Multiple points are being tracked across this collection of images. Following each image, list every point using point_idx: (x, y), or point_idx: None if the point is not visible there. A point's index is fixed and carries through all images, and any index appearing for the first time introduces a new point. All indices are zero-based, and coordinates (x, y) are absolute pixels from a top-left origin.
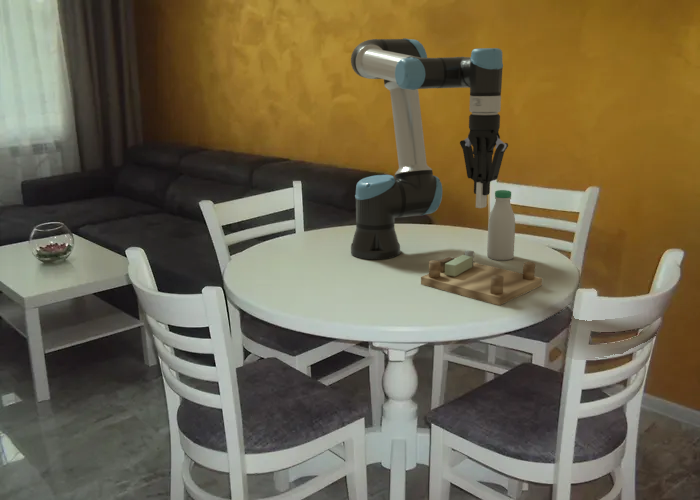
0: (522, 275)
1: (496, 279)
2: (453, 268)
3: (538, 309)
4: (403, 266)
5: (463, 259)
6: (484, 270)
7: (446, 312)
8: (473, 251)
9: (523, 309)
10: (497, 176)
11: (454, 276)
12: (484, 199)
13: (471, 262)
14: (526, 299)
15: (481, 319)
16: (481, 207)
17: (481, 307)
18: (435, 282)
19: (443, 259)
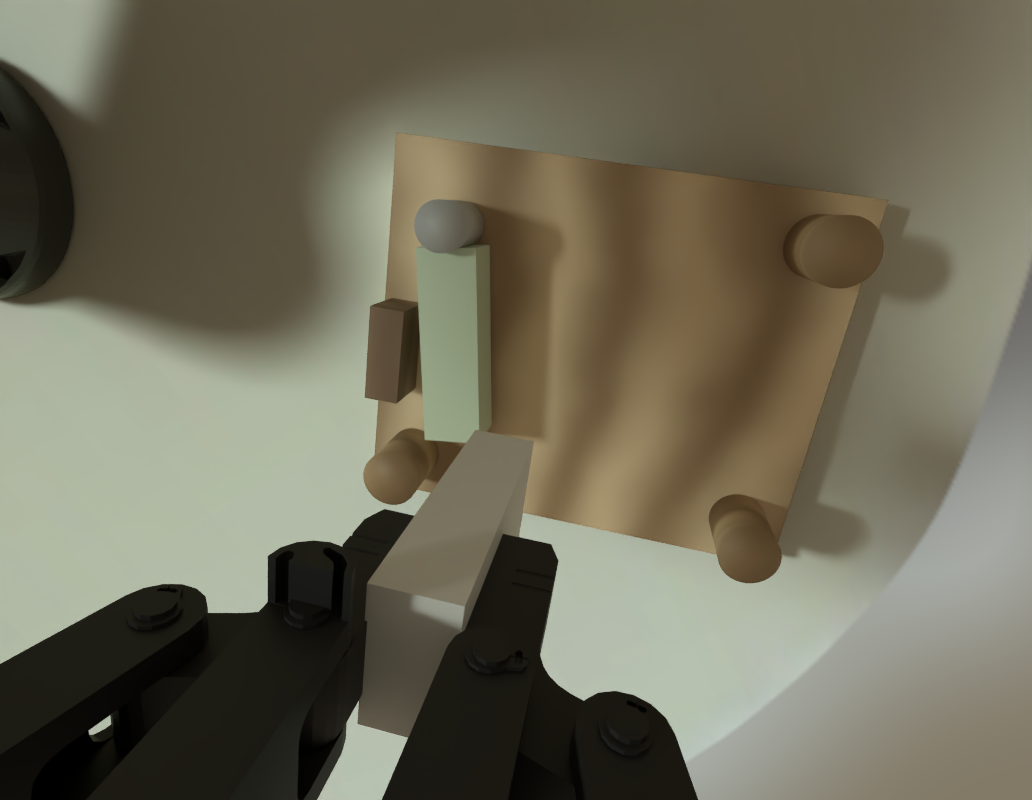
0: (771, 216)
1: (754, 580)
2: None
3: (929, 518)
4: (192, 295)
5: (462, 327)
6: (560, 245)
7: (614, 678)
8: (455, 207)
9: (868, 544)
10: (684, 782)
11: (490, 424)
12: (512, 519)
13: (483, 258)
14: (849, 431)
15: (749, 688)
16: (519, 524)
17: (705, 591)
18: None
19: (374, 362)
